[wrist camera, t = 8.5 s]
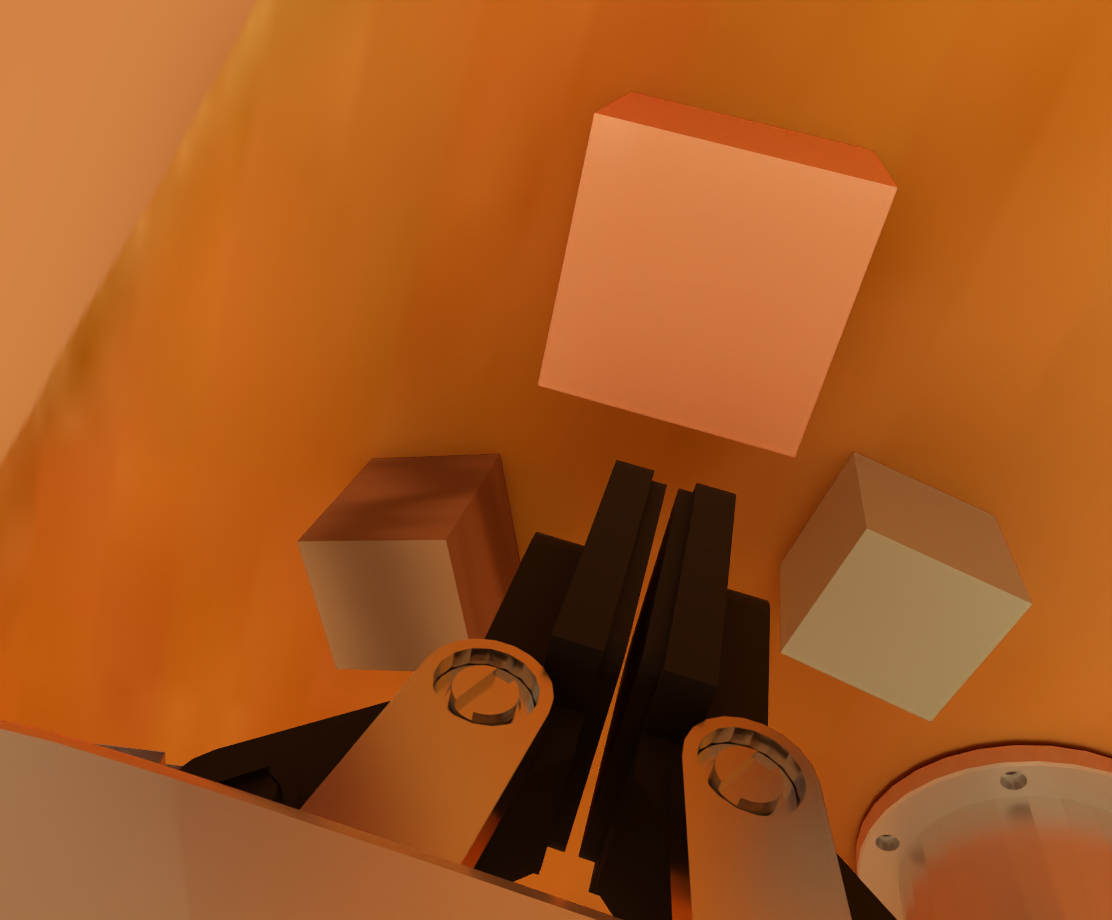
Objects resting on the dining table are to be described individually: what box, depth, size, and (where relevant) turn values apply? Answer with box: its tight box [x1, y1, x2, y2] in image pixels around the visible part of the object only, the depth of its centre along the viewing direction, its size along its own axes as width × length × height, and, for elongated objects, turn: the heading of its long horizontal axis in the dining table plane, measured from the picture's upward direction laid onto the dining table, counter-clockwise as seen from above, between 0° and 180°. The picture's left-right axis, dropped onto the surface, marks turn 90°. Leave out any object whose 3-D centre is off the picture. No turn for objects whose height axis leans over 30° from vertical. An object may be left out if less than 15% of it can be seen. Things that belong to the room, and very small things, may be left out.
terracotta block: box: [538, 92, 897, 457], centre depth 24 cm, size 7×7×6 cm
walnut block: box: [297, 454, 520, 671], centre depth 31 cm, size 5×5×6 cm
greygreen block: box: [780, 452, 1032, 722], centre depth 28 cm, size 5×5×5 cm
